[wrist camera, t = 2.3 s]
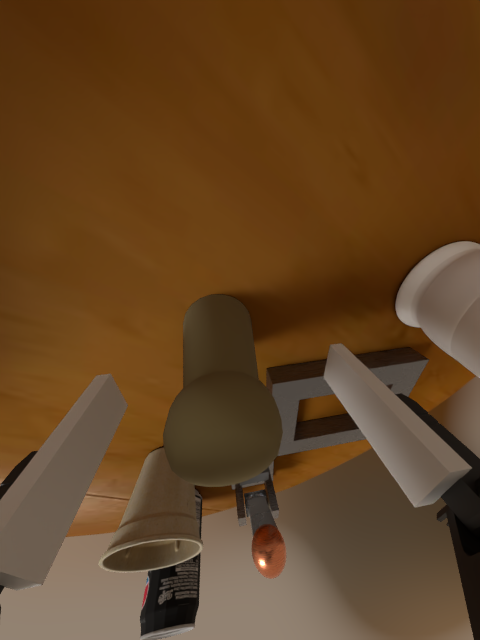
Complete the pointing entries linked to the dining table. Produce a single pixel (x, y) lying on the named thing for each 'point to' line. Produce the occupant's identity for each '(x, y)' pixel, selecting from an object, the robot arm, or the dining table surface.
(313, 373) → the grey rectangular frame
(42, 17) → the dining table surface
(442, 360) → the dining table surface
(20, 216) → the dining table surface
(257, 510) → the lever handle
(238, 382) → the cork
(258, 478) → the rest stop
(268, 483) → the grey metal bracket
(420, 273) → the jar
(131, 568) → the flower pot
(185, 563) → the beverage can
